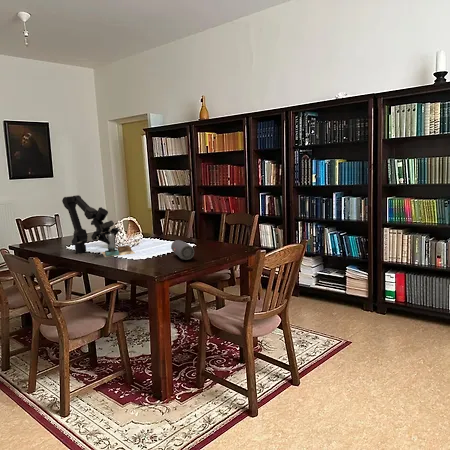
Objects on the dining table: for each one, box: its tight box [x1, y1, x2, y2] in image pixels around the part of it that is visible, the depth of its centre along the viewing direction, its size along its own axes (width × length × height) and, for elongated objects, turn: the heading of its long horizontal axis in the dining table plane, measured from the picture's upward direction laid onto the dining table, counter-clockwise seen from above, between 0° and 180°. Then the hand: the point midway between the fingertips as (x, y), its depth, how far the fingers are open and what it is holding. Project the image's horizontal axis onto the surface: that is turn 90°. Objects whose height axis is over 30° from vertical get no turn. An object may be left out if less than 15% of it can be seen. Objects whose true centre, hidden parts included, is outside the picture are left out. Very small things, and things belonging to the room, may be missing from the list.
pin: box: [106, 233, 116, 252], centre depth 272 cm, size 4×4×12 cm
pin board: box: [101, 245, 136, 258], centre depth 279 cm, size 19×18×4 cm
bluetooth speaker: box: [170, 239, 195, 261], centre depth 258 cm, size 23×9×10 cm, turn 21°
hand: (112, 243), depth 271 cm, fingers closed on pin, 4 cm apart
